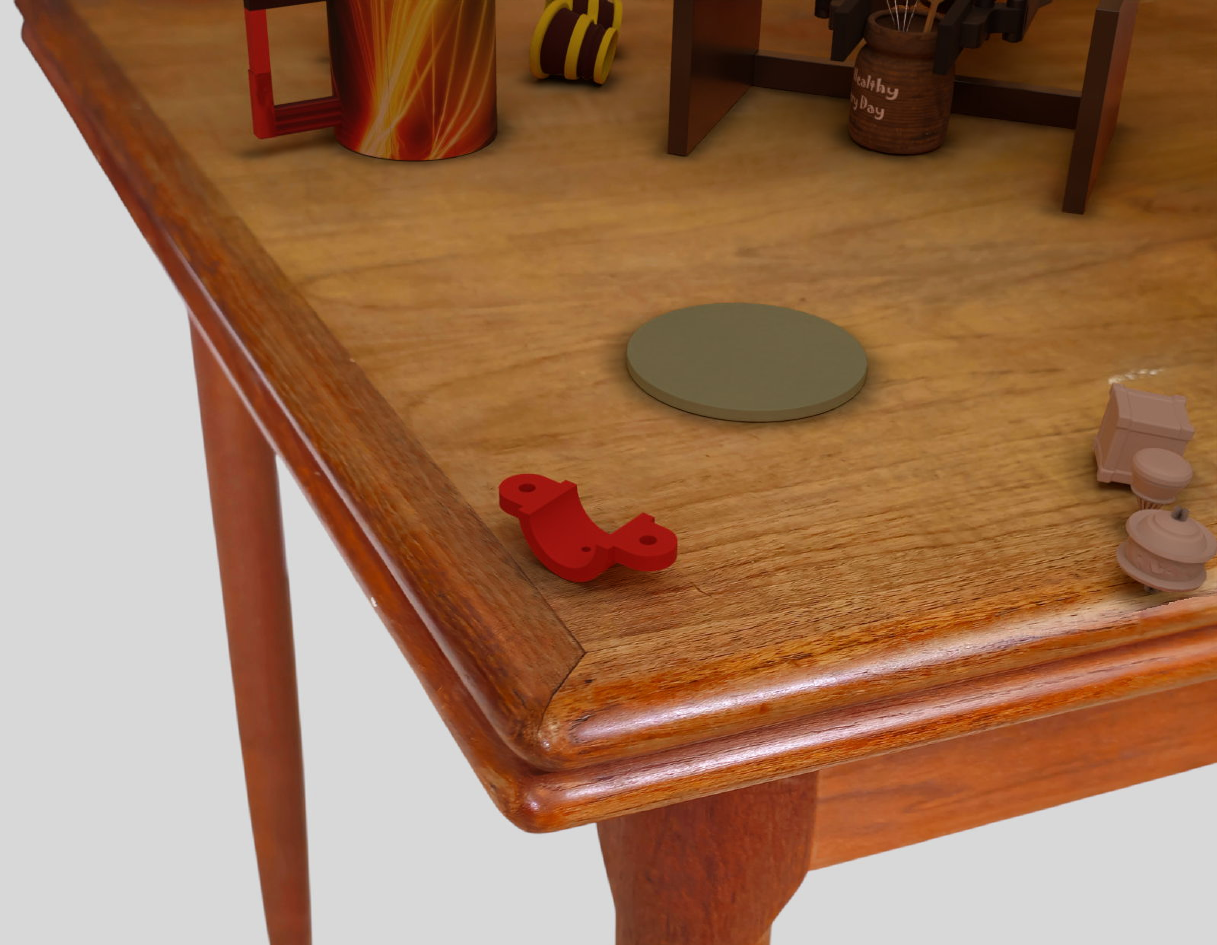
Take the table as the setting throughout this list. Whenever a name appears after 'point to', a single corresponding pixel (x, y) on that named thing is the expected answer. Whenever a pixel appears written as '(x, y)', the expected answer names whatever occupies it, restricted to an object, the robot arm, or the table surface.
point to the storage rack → (731, 62)
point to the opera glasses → (576, 39)
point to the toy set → (1153, 488)
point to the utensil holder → (900, 83)
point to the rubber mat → (746, 362)
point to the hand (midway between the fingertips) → (890, 43)
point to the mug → (390, 77)
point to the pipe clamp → (581, 531)
